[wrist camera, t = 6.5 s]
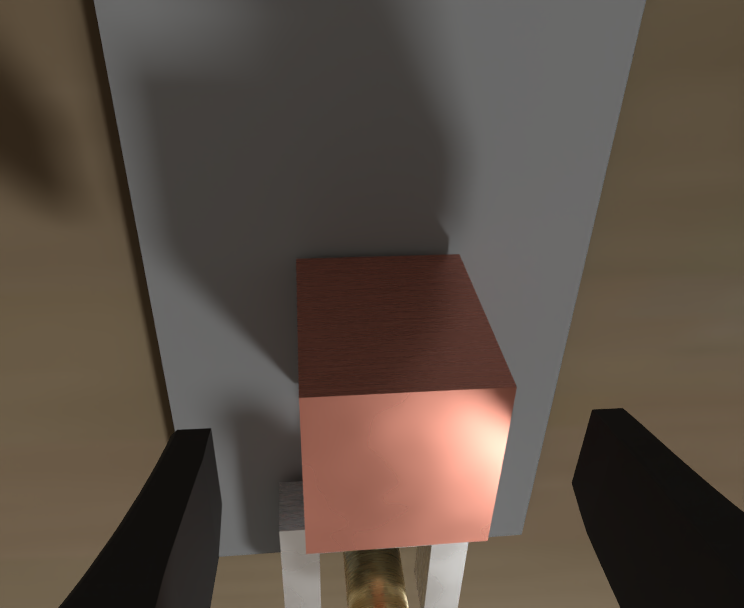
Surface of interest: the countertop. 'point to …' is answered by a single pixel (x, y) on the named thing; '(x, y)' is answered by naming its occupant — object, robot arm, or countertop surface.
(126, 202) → the countertop surface
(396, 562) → the keeper post
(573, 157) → the mat
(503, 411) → the pink cube with handle
